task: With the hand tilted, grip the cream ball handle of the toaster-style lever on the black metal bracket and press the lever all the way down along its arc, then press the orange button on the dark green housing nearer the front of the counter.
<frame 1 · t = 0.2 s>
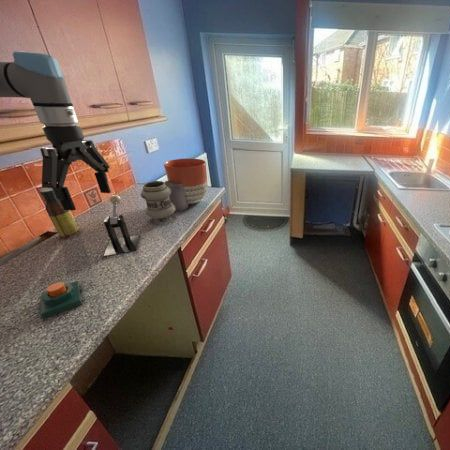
hand: (89, 200, 74), 24 cm above the countertop, tool pointing down, fingers open, 13 cm apart
lever: (115, 210, 93), point 14 cm above the countertop, hinge at 28.0°
button housing: (63, 301, 71), on the countertop
planter: (192, 202, 135), on the countertop, touching pillar candle
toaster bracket: (123, 248, 95), on the countertop
apothecary jar: (163, 221, 115), on the countertop
sauce bottle: (70, 236, 101), on the countertop
pillar candle: (178, 208, 128), on the countertop, touching planter
button: (56, 289, 68), point 5 cm above the countertop, slide at 0.1 cm
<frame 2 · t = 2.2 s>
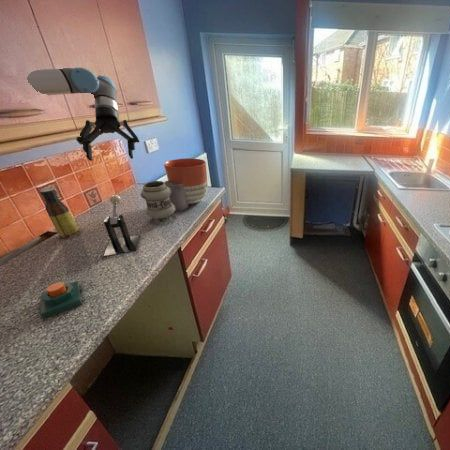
hand: (110, 157, 96), 30 cm above the countertop, tool tilted 45°, fingers open, 13 cm apart
nothing on the countertop moved.
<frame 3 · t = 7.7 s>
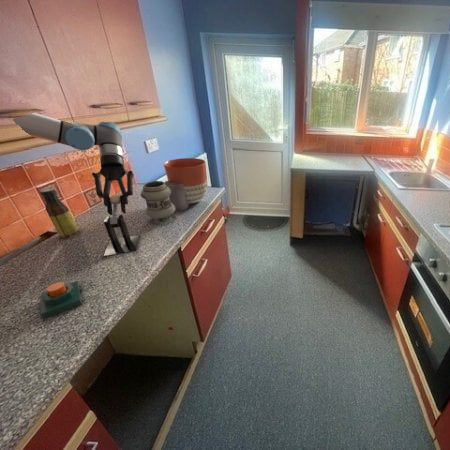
hand: (117, 212, 94), 12 cm above the countertop, tool tilted 45°, fingers closed on lever, 4 cm apart
lever: (115, 210, 93), point 14 cm above the countertop, hinge at 27.4°, touching gripper
everything else where it was.
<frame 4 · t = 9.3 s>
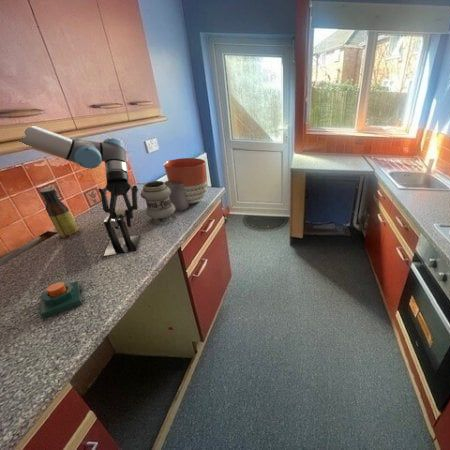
hand: (122, 226, 98), 6 cm above the countertop, tool tilted 45°, fingers closed on lever, 4 cm apart
lever: (118, 217, 95), point 10 cm above the countertop, hinge at -6.7°, touching gripper
everything else where it was.
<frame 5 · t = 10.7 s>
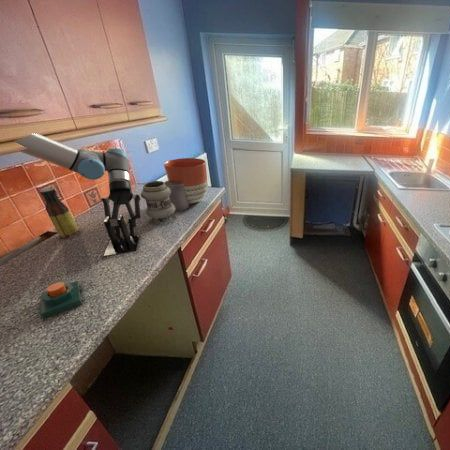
hand: (125, 236, 99), 2 cm above the countertop, tool tilted 45°, fingers open, 4 cm apart
lever: (119, 222, 95), point 9 cm above the countertop, hinge at -25.5°
everything else where it was.
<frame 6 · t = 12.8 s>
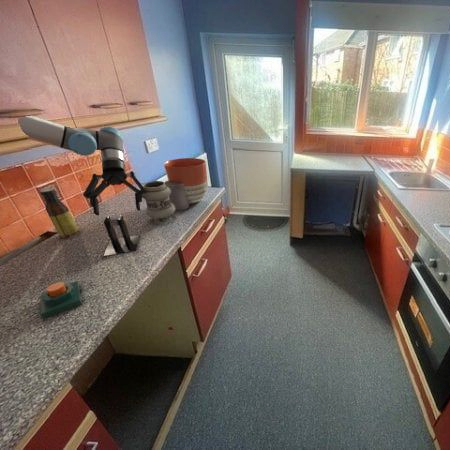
hand: (118, 211, 96), 12 cm above the countertop, tool tilted 45°, fingers open, 13 cm apart
nothing on the countertop moved.
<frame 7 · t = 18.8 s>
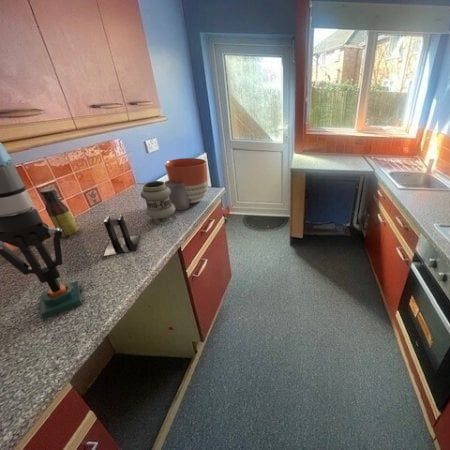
hand: (56, 288, 68), 5 cm above the countertop, tool pointing down, fingers closed
button: (57, 291, 69), point 4 cm above the countertop, slide at -0.7 cm, touching gripper
everything else where it was.
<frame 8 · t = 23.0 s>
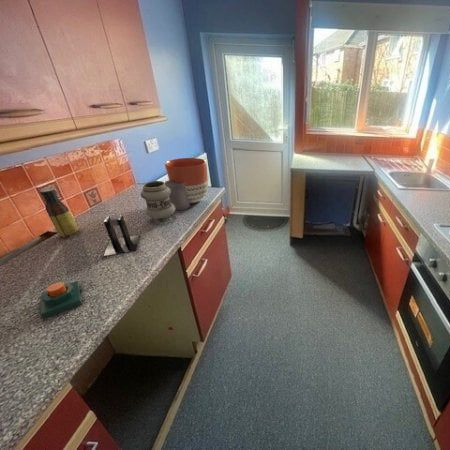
pillar candle: (180, 207, 129), on the countertop, touching planter
button: (56, 289, 68), point 5 cm above the countertop, slide at 0.1 cm
everything else where it was.
at the end: lever at -26° (first picture: +28°); button pushed in 1.0 cm at the most during the clip, back to where it started at the end; button slide at 0.1 cm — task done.
